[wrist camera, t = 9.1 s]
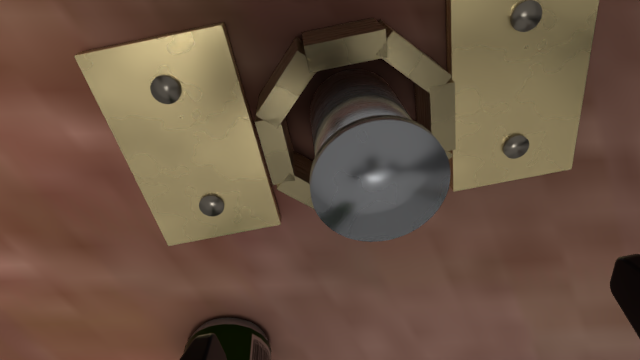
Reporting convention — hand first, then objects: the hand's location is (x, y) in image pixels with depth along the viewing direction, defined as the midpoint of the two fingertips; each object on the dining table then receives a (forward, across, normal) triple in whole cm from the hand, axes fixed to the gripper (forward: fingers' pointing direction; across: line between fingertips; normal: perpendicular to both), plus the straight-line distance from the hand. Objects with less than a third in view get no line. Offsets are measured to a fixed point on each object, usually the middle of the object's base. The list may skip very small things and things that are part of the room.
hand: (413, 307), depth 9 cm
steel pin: (+12, 0, 0) cm, 12 cm away
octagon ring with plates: (+11, 0, 0) cm, 11 cm away
